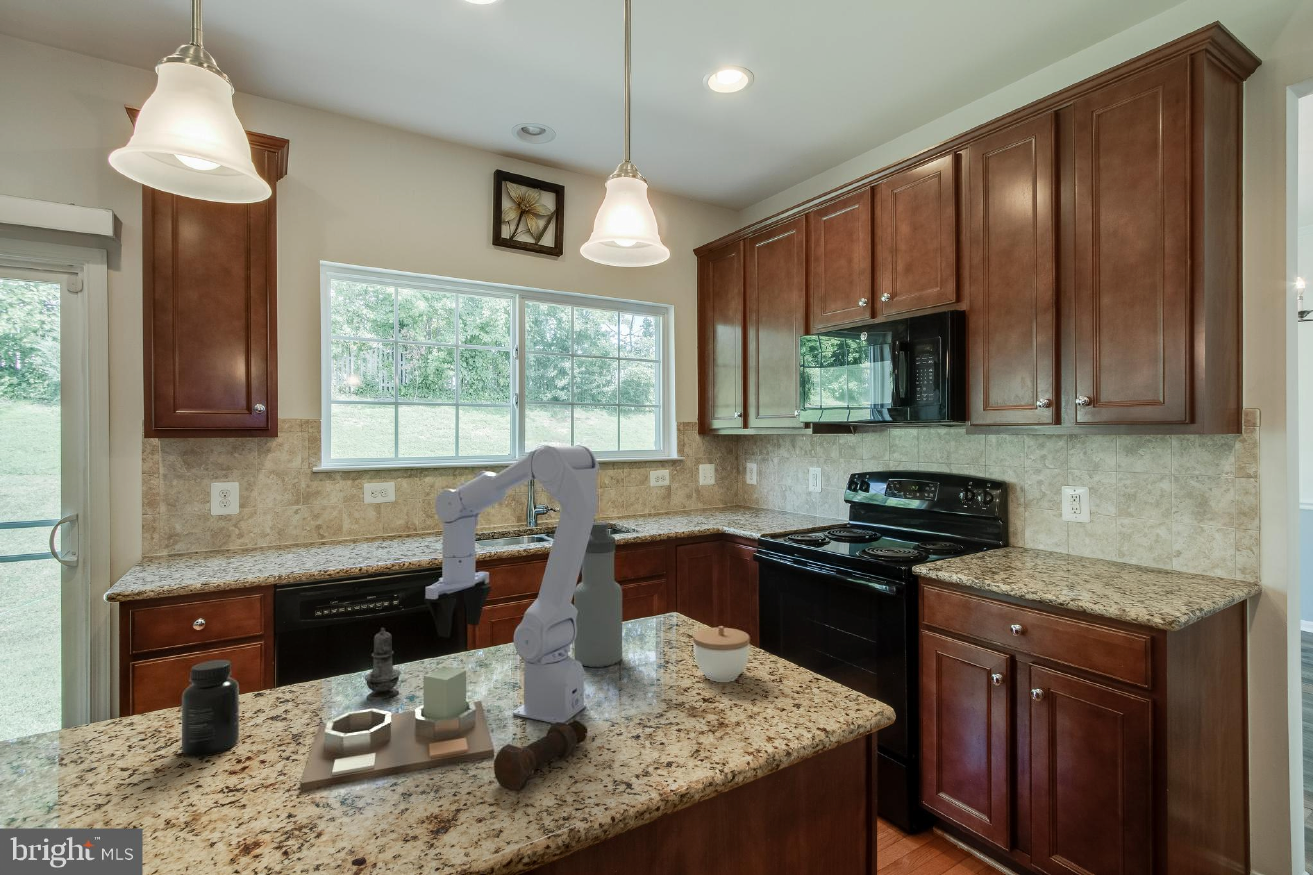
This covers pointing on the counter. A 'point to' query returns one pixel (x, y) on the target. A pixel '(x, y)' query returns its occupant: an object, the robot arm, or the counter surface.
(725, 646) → the lidded jar
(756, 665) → the counter surface
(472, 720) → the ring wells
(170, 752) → the counter surface
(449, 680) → the sage plug
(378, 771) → the walnut board
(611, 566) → the water bottle
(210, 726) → the supplement bottle
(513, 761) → the bolt
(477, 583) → the robot arm
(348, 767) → the tags
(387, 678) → the salt shaker
